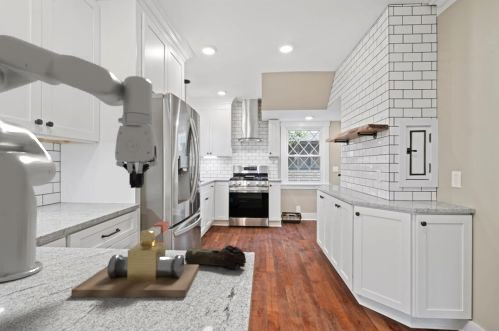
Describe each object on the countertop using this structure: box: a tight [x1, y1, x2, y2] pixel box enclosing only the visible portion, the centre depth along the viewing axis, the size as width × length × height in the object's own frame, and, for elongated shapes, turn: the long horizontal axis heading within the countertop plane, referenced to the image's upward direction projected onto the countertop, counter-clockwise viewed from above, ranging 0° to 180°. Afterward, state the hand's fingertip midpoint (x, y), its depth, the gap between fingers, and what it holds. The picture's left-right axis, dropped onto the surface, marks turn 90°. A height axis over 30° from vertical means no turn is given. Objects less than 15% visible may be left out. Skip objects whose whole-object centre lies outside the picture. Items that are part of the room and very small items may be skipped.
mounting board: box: [70, 264, 200, 298], centre depth 62 cm, size 24×15×2 cm, turn 90°
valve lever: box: [140, 221, 169, 247], centre depth 67 cm, size 14×3×3 cm, turn 0°
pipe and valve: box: [107, 241, 185, 282], centre depth 62 cm, size 16×7×7 cm, turn 90°
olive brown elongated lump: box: [184, 244, 247, 271], centre depth 74 cm, size 18×7×6 cm, turn 71°
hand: (136, 187), depth 72 cm, fingers closed
